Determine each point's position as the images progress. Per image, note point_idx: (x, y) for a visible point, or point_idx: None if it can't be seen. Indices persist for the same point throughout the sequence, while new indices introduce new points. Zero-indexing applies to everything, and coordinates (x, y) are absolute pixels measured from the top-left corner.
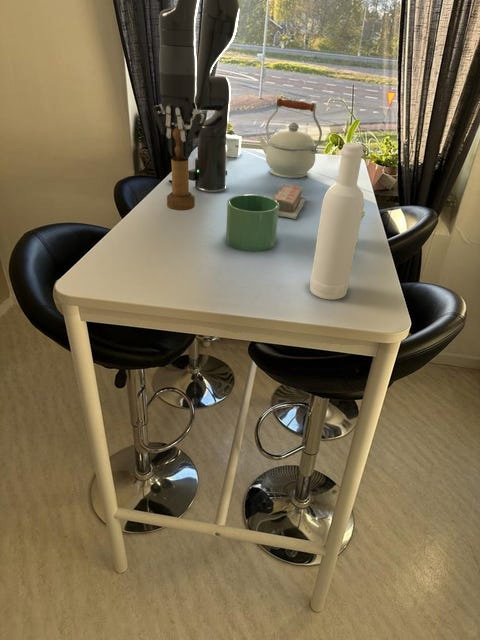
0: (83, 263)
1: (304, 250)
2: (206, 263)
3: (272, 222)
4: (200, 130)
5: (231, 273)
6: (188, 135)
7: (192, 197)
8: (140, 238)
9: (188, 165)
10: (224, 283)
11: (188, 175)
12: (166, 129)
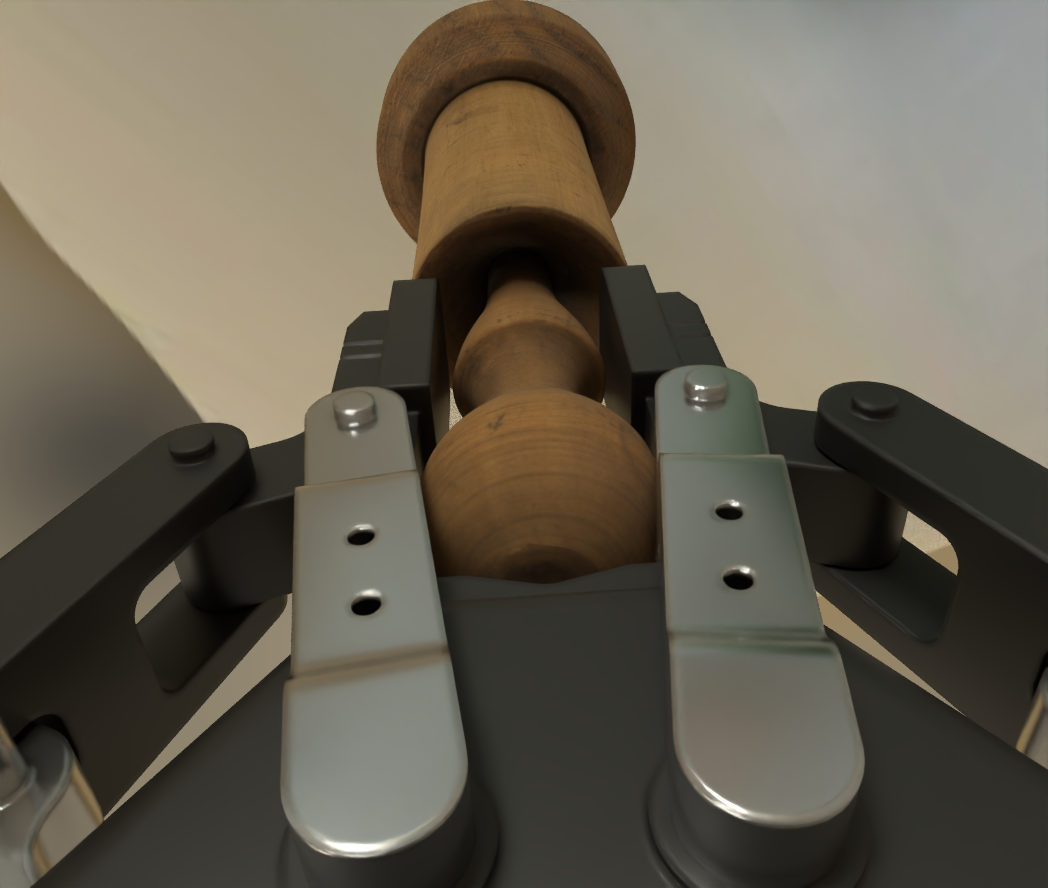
0: None
1: None
2: (817, 196)
3: None
4: (1029, 480)
5: (1003, 197)
6: (821, 580)
7: (616, 108)
8: (259, 209)
9: (604, 216)
10: (1009, 306)
11: (595, 183)
12: (281, 591)
